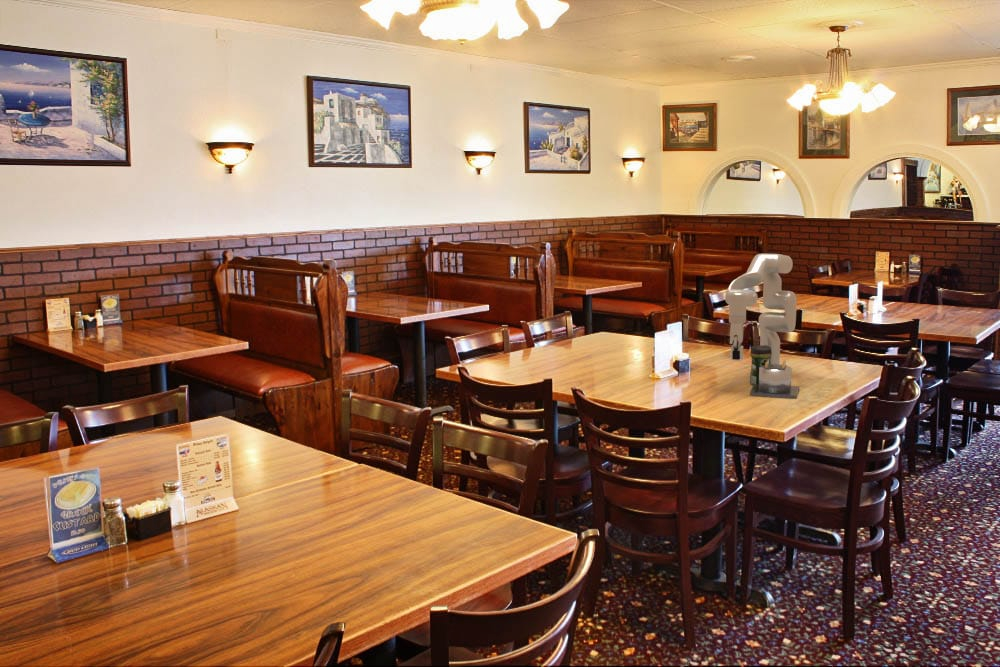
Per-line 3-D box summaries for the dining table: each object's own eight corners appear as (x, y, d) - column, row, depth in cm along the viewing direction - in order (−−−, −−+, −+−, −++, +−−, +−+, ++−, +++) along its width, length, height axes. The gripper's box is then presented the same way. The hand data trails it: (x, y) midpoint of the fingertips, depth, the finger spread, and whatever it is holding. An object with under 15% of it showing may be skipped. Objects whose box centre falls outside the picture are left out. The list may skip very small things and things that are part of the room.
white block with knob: (732, 358, 407) (732, 341, 406) (743, 358, 405) (743, 342, 404) (730, 360, 402) (730, 343, 401) (741, 360, 401) (742, 344, 399)
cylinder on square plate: (754, 386, 414) (755, 356, 412) (799, 389, 407) (800, 358, 404) (749, 395, 396) (750, 364, 394) (796, 398, 388) (797, 367, 386)
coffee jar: (764, 381, 425) (765, 343, 422) (773, 384, 417) (775, 346, 414) (746, 383, 422) (747, 345, 419) (755, 386, 415) (756, 347, 412)
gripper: (731, 316, 410) (731, 354, 413) (726, 321, 394) (725, 361, 397) (748, 316, 407) (747, 355, 410) (743, 322, 391) (743, 362, 394)
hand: (736, 357), depth 404 cm, fingers closed on white block with knob, 5 cm apart
